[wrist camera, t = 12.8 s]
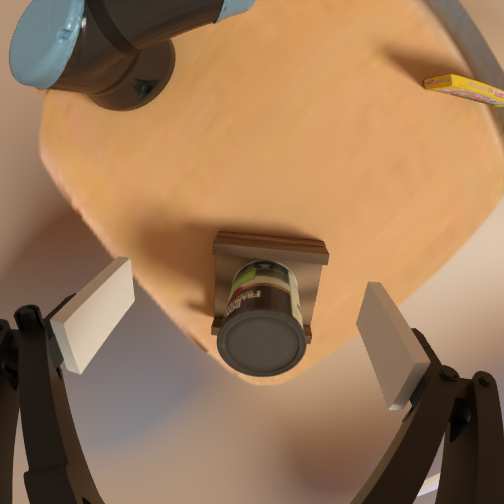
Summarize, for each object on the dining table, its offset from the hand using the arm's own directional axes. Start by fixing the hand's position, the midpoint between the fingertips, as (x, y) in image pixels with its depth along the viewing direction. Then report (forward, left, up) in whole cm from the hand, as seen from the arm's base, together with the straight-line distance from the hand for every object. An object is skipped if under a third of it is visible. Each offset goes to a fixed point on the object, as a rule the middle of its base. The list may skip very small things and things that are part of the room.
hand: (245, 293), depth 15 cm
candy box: (-23, +32, -29) cm, 49 cm away
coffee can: (+14, +2, -27) cm, 30 cm away
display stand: (+14, +2, -29) cm, 32 cm away
